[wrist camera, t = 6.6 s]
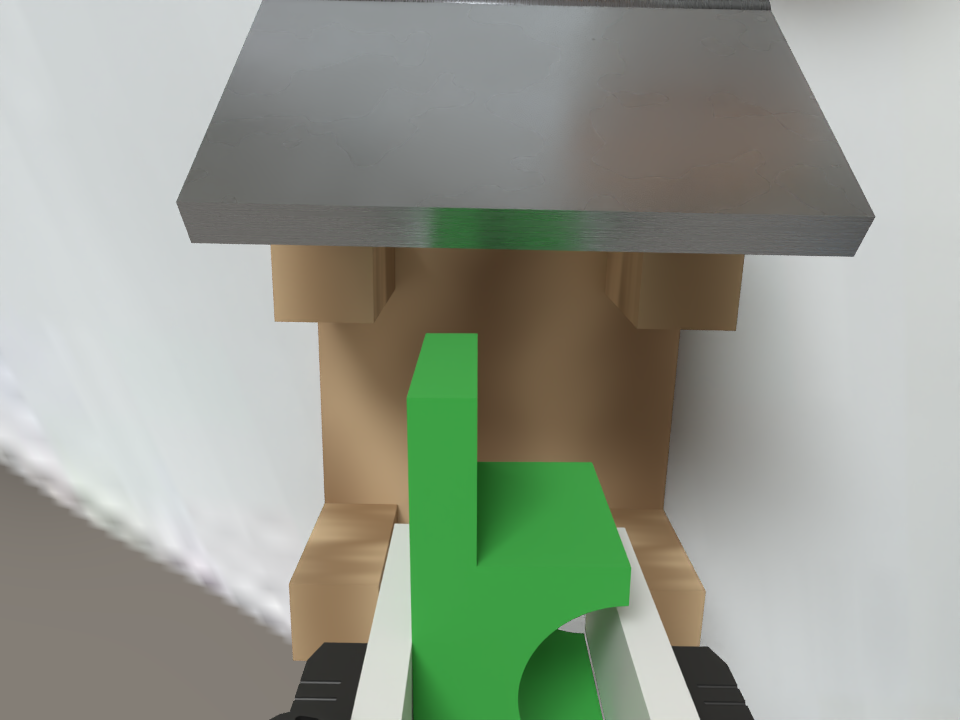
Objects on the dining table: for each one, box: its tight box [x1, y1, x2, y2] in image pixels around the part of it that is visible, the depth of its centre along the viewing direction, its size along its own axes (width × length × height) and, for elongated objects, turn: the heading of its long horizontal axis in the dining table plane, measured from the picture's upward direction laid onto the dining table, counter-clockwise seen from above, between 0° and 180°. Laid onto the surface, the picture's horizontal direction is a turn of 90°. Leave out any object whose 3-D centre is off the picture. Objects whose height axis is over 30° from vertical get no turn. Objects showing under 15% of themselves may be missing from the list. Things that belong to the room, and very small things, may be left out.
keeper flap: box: [176, 0, 875, 257], centre depth 17 cm, size 13×9×1 cm
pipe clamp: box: [407, 333, 631, 720], centre depth 15 cm, size 11×4×5 cm, turn 0°
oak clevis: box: [271, 245, 745, 661], centre depth 26 cm, size 14×22×7 cm, turn 179°
